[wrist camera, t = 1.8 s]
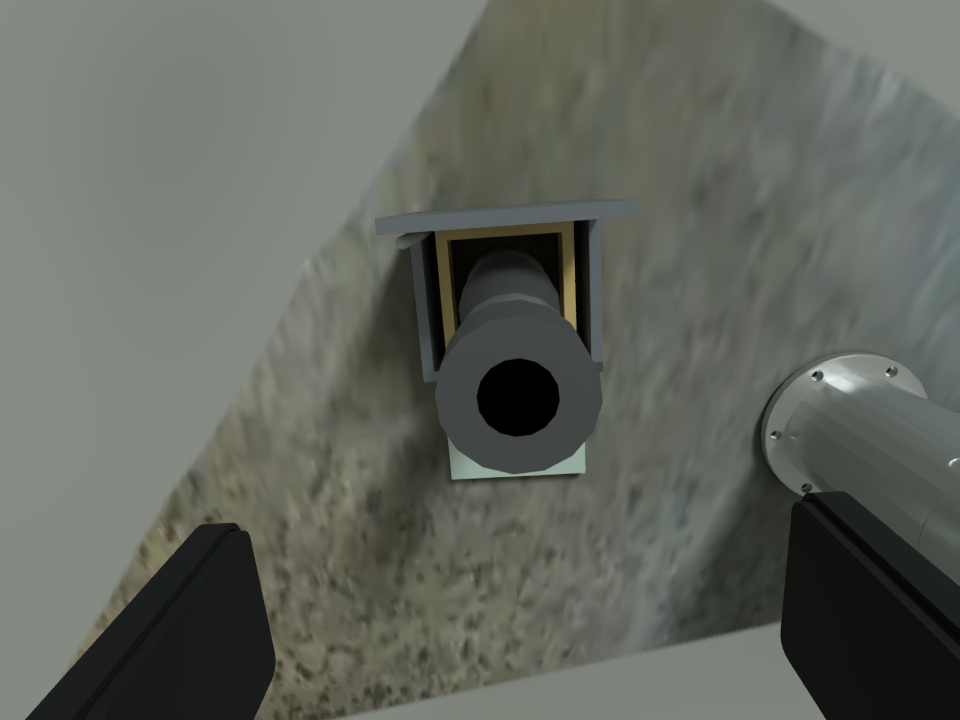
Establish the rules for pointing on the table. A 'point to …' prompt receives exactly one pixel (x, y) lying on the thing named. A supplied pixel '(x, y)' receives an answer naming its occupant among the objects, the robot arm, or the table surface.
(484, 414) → the candle holder
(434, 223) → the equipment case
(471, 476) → the sage pad
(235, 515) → the table surface
